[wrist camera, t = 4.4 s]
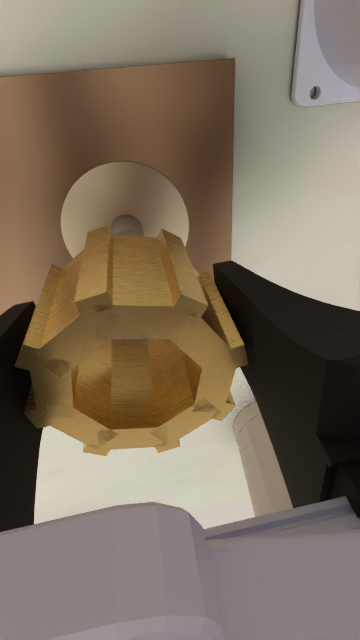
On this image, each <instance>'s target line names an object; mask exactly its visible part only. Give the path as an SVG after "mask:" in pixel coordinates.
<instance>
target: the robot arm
mask: <svg viewBox="0 0 360 640" xmlns="http://www.w3.org/2000/svg"><path fill="white" fill-rule="evenodd" d="M313 87H316V89H317V93H316V96H315V97H314V98H313V99H311V98H310V91H311V89H312V88H313ZM291 99H292V102H293V103H294V104H295V105H296V106H302V107H305V106H315V105H326V104H336V103H346V102H357V101H360V0H301V4H300V14H299V24H298V34H297V43H296V53H295V63H294V73H293V82H292V92H291ZM213 274H214V283H215V285H216V287H217V289H218V291H219V293H220V295H221V297H222V299H223V302H224V304H225V306H226V308H227V310H228V312H229V314H230V316H231V318H232V320H233V322H234V324H235V326H236V328H237V331H238V333H239V335H240V337H241V339H242V341H243V343H244V345H245V350H246V355H247V360H248V365H244V366H241V367H240V368H241V370H242V372H243V374H244V376H245V378H246V380H247V382H248V384H249V386H250V388H251V390H252V392H253V394H254V397H255V399H256V402H257V405H258V407H259V410H260V413H261V415H262V418H263V421H264V424H265V426H266V429H267V432H268V435H269V438H270V440H271V443H272V446H273V449H274V452H275V455H276V458H277V461H278V464H279V467H280V470H281V473H282V476H283V478H284V481H285V484H286V488H287V491H288V494H289V497H290V500H291V503H292V506H293V509H289V510H284V511H280V512H276V513H271V514H267V515H263V516H259V517H254V518H250V519H246V520H242V521H237V522H233V523H229V524H224V525H220V526H216V527H212V528H207V529H203V528H202V526H201V525H200V524H199V523H198V522H197V521H196V520H195V519H194V518H193V517H192V515H191V514H190V513H189V512H187V511H185V510H184V509H182V508H179V507H174V506H170V505H165V504H161V503H156V502H148V503H137V504H126V505H117V506H112V507H108V508H104V509H99V510H95V511H91V512H86V513H82V514H78V515H73V516H69V517H64V518H60V519H56V520H51V521H47V522H43V523H38V524H34V505H35V491H36V478H37V467H38V457H39V448H40V441H41V435H42V430H43V428H39V429H37V427H36V426H35V425H34V424H33V423H32V422H31V421H30V420H29V418H28V417H27V416H26V415H25V414H24V410H25V407H26V403H27V400H28V396H29V392H30V389H31V385H32V380H31V374H30V371H29V370H25V369H21V368H17V367H15V364H16V361H17V358H18V355H19V353H20V350H21V347H22V344H23V341H24V339H25V336H26V333H27V330H28V327H29V324H30V322H31V319H32V316H33V313H34V310H35V308H36V305H35V303H34V301H30V302H25V303H21V304H16V305H14V306H12V307H10V308H9V309H8V310H6V311H5V312H4V313H3V314H1V315H0V640H360V311H356V310H352V309H348V308H343V307H339V306H335V305H331V304H328V303H324V302H321V301H318V300H315V299H312V298H309V297H306V296H303V295H300V294H298V293H295V292H292V291H290V290H288V289H286V288H283V287H281V286H279V285H277V284H275V283H272V282H270V281H268V280H266V279H264V278H263V277H261V276H259V275H257V274H255V273H253V272H251V271H250V270H248V269H246V268H244V267H242V266H241V265H239V264H237V263H235V262H233V261H231V260H230V261H225V262H220V263H215V264H213Z"/></svg>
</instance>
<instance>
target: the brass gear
mask: <svg viewBox="0 0 360 640" xmlns="http://www.w3.org/2000/svg"><path fill="white" fill-rule="evenodd" d="M111 339H149V340H148V341H121V340H111ZM244 365H248V360H247V355H246V350H245V345H244V343H243V341H242V339H241V337H240V335H239V333H238V331H237V328H236V326H235V324H234V322H233V320H232V318H231V316H230V314H229V312H228V310H227V308H226V306H225V304H224V302H223V299H222V297H221V295H220V293H219V291H218V289H217V287H216V285H215V283H214V281H213V279H212V277H211V275H210V272H209V271H207V272H204V273H201V274H199V273H198V272H197V271H196V270H195V268H194V267H193V266H192V264H191V261H190V259H189V256H188V254H187V251H186V249H185V247H184V244H183V242H182V239H181V238H180V237H178V236H176V235H174V234H172V233H170V232H168V231H166V230H164V229H162V228H161V230H160V232H159V234H158V236H157V238H154V237H139V236H123V235H114V234H113V232H112V229H111V227H110V225H107V226H104V227H101V228H98V229H95V230H92V231H88V232H87V237H86V242H85V247H84V250H82V251H81V252H80V253H79V254H78V255H77V256H76V257H74V258H73V259H72V260H71V261H70V262H69V263H68V264H66V265H65V266H64V267H63V268H61V267H58V266H56V265H53V264H51V267H50V269H49V272H48V275H47V277H46V280H45V282H44V285H43V288H42V291H41V293H40V296H39V299H38V302H37V305H36V308H35V310H34V313H33V316H32V319H31V322H30V324H29V327H28V330H27V333H26V336H25V339H24V341H23V344H22V347H21V350H20V353H19V355H18V358H17V361H16V364H15V367H17V368H21V369H25V370H29V371H30V374H31V380H32V385H31V389H30V392H29V396H28V400H27V403H26V407H25V410H24V414H25V415H26V416H27V417H28V418H29V420H30V421H31V422H32V423H33V424H34V425H35V426H36V427H37V429H39V428H43V427H46V426H49V425H50V426H52V427H54V428H56V429H58V430H60V431H62V432H64V433H65V434H67V435H69V436H71V437H73V438H75V439H77V440H79V441H81V442H83V443H84V445H83V452H86V453H92V454H97V455H103V456H106V455H107V453H108V452H109V451H110V449H125V448H143V447H155V448H156V450H157V451H158V453H159V452H163V451H166V450H169V449H173V448H176V447H179V446H180V443H179V439H180V438H181V437H183V436H185V435H186V434H188V433H190V432H191V431H193V430H194V429H196V428H198V427H199V426H201V425H203V424H204V423H206V422H207V421H209V420H211V419H212V418H213V419H217V420H220V421H222V420H223V419H224V418H225V417H226V416H227V415H228V413H229V412H230V411H231V410H232V409H233V408H234V407H235V403H234V401H233V398H232V395H231V392H230V387H231V383H232V380H233V376H234V373H235V369H236V368H238V367H241V366H244Z"/></svg>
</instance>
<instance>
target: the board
mask: <svg viewBox="0 0 360 640" xmlns="http://www.w3.org/2000/svg"><path fill="white" fill-rule="evenodd" d="M234 86H235V58H231V59H218V60H206V61H194V62H182V63H170V64H158V65H145V66H133V67H121V68H109V69H97V70H84V71H72V72H60V73H48V74H36V75H24V76H11V77H0V315H1V314H3V313H4V312H5V311H6V310H8V309H9V308H10V307H12V306H14V305H16V304H21V303H25V302H30V301H34V303H35V305H37V302H38V299H39V296H40V293H41V291H42V288H43V285H44V282H45V280H46V277H47V275H48V272H49V269H50V267H51V264H53V265H56V266H58V267H61V268H63V267H64V266H65V265H66V264H68V263H69V262H70V261H71V260H72V259H73V258H74V257H76V256H77V255H78V254H79V253H80V252H81V251H82V250H84V247H85V242H86V237H87V232H88V231H92V230H95V229H98V228H101V227H104V226H107V225H110V227H111V229H112V232H113V234H114V235H123V236H139V237H154V238H157V236H158V234H159V232H160V230H161V228H162V229H164V230H166V231H168V232H170V233H172V234H174V235H176V236H178V237H180V238H181V239H182V242H183V244H184V247H185V249H186V251H187V254H188V256H189V259H190V261H191V264H192V266H193V267H194V268H195V270H196V271H197V272H198V273H199V274H201V273H204V272H207V271H209V272H210V275H211V277H212V279H213V281H214V274H213V264H215V263H220V262H225V261H230V260H231V232H232V183H233V135H234Z"/></svg>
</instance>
